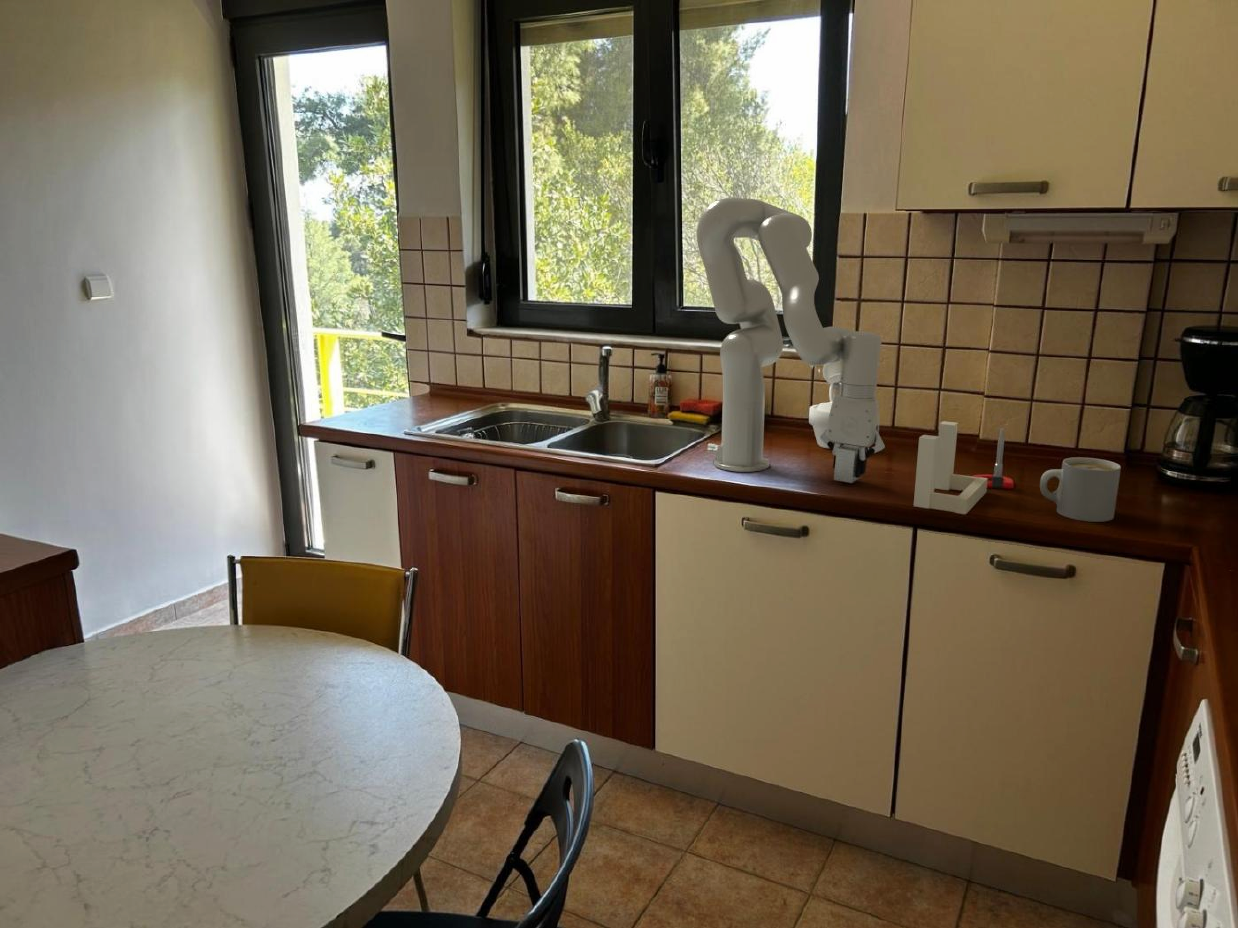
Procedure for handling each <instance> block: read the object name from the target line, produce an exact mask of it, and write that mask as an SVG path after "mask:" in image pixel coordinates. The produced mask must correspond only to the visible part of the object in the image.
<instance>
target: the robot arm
mask: <svg viewBox="0 0 1238 928" xmlns="http://www.w3.org/2000/svg"><path fill="white" fill-rule="evenodd" d="M740 238H749V239H752V240H755V241H757V242H758V243H759V246H760V247H761V250H762V252H763V255H764V257H765V259H766V261H767V263H768V266H769V268H770V269H771V273H772V274H773V277H774V280H776V283H777V286H778V288H779V291H780V293H781V306H782V307H781V308H782V316H783V317H782V318H783V322H784V326H785V330H786V332H787V334H788V337H789V338H790V341H791V343H792V345H793V348H794V349H795V351H796V353H797V355H798V357H799V358H800V359H801V361H803V362H804V363H805V364H807V365H809V366H810V367H811V366H813V367H820V366H821V367H822V366H824V365H825V364H828V363H832V362H837V361H839V362H841V377H840V381H839V382H838V383H834V384H833V389H836V390H837V394H835V396H834V399H833V402H832V406H831V410H830V415H829V420H828V426H827V429H826V430H825V432H824V433H823V434H822V435H821V436H820V439H821V440H822V441H823V442H824V443H826V444H827V445H828V447H829V448H830V451H831V452H832V455H833V464H832V468H833V469H834V470H835V462H836V452H837V448H838V447H839V446H841V445H843V444H846V445H851V446H857V447H859V455H860V456H859V459H858V460H857V467H856V478H858V479H860V478H861V477H862V475H864V474H866V470H867V463H868V462H867V461H868V459H869V457H871V456H872V455H874V454H876V453H878V452H881V451H883V449H885V448H886V447H885V443H884V440H883V439H882V438H881V436H880V433H879V431H880V406H879V399H878V398H876V393H877V385H878V375H879V367H880V357H881V349H882V338H881V336H880V335H879V334H878V333H875V332H871V331H859V330H858V331H855V330H850V329H848V328H847V329H846V328H842V327H838V326H827V327H823V325H822V323H821V321H820V319H819V316H818V314H817V310H816V305H815V292H816V289H817V286H818V284H819V280H820V277H819V272H818V271H817V268H816V267H815V264H814V262H813V259H812V258H811V255H810V253H809V251H808V249H807V248H808V247H809V246H810V245H811V242H812V238H813V233H812V228H811V225H810V223H809V222H808V221H807V220H806V218H804V217H803V216H801V215H799V214H797V213H795V212H791V211H789V210H786V209H783V208H781V207H778V206H776V205H773V204H770V203H767V202H765V201H763V200H759V199H755V198H749V197H748V198H746V197H745V198H741V197H724V198H720V199H717V200H716V201H713V202H712V203H711V204H710V205H708V207H706V209H705V210H704V211H703V212H702V214H701V216H700V217H699V220H698V223H697V228H696V240H697V247H698V250H699V254H700V257H701V260H702V264H703V266H704V270H705V274H706V275H705V276H706V280H707V283H708V287H709V291H710V296H711V299H712V303H713V306H714V311H715V314H716V316H717V317H718V320H720V321H721V322H723V323H725V324H727V325H728V324H729V325H730V324H731V325H736V324H739V326H740V329H737V330H734V331H732V332H731V333H729V334H728V335H726V337H725V338H724V339H723V341H722V343H721V346H720V351H719V352H720V353H719V357H720V359H719V360H720V365H721V373H722V415H721V416H722V417H721V421H722V422H721V443H720V444H716V443H711V442H709V443H708V444H707V447H706V452H707V454H712V455H713V454H714V455H716V457H715V459H714V461H713V462H714V466H715V467H716V468H719V469H721V470H723V471H724V470H725V471H730V472H737V473H739V472H741V473H749V472H751V473H752V472H759V471H763V470H766V469H768V468H769V467H770V460H769V459H768V458H766V457H763V456H764V455H763V454H764V433H765V430H764V429H765V407H766V406H765V405H766V404H765V403H766V385H765V384H766V383H765V379H764V374H763V368H765V367H767V366H768V367H769V366H770V365H773V364H774V363H776V362H777V361H778V360H779V359H780V358H781V355H782V352H783V348H784V341H783V336H782V331H781V327H780V323H779V319H778V315H777V310H776V306H775V303H774V300H773V297H772V294H771V292H770V290H769V289H768V287H767V286H766V285H765V284H764V283H762V282H761V281H759V280H756V279H748V277H747V274H746V272H745V267H744V263H743V259H742V256H741V254H740V252H739V250H738V248H737V247H736V244H735V242H734V240H735V239H740ZM874 444H875V446H873V445H874ZM871 446H872V447H871ZM870 447H871V448H870ZM859 477H860V478H859Z"/></svg>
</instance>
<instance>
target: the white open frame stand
mask: <svg viewBox="0 0 1238 928" xmlns="http://www.w3.org/2000/svg"><path fill="white" fill-rule="evenodd" d="M958 425H959V423H958V422H956V421H955V422H953V421H945V420H944V421H941V422H939V425H938V426H939V427H938V434H937V435H930V434H929V435H928V434H923V435H921V436H919V438H918V449H917V461H916V471H915V483H914V484H915V486H914V494H913V496H914V499H913V507H918V508H922V509H933V510H937V511H938V510H939V511H945V512H952V513H955V514H961V515H966V514H968V512H969V511H971V509H972V508H973V507H974V506H975V505H976V504H977V503H978V502H979V501H980V500H981V499H982V497H984V495H985V494H987V492H988V491H987V489H988V488H987V481H989V479H988V478H982V477H972V476H971V475H965V474H964V475H962V474H955V473H954V468H955V459H956V450H957V448H956V447H957V437H958ZM935 489H937V490H942V491H950V490H956V491H961V490H962V491H961V493H959V495H955V494H947V493H942V492H941V493H940V492H935Z"/></svg>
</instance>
